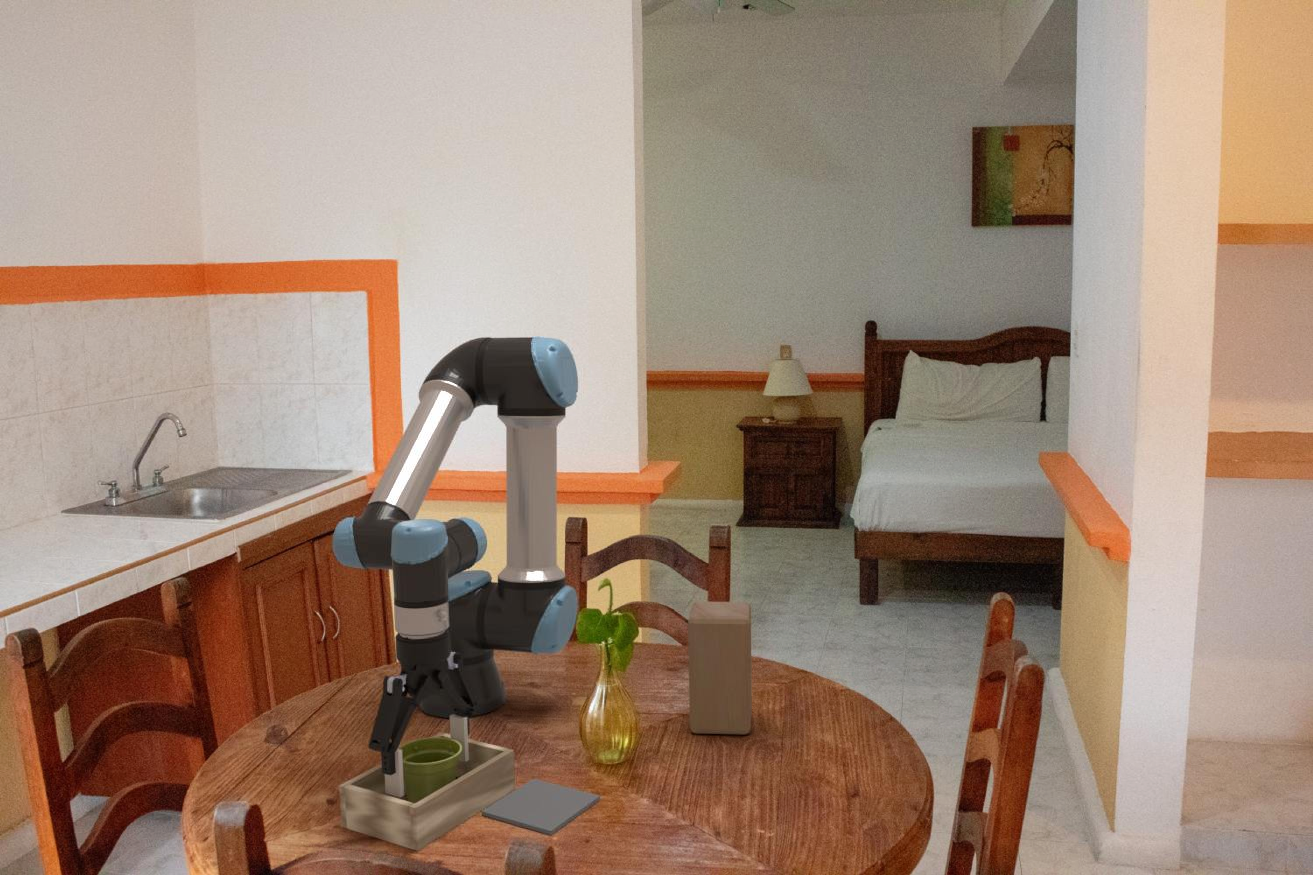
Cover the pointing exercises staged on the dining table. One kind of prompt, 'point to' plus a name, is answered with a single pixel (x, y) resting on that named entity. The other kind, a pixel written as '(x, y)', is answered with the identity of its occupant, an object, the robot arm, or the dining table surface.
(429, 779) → the plant pot
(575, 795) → the pad
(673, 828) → the dining table surface
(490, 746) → the crate
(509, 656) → the dining table surface
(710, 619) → the wooden block
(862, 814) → the dining table surface
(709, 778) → the dining table surface
